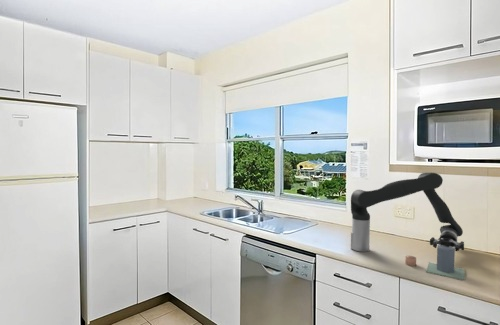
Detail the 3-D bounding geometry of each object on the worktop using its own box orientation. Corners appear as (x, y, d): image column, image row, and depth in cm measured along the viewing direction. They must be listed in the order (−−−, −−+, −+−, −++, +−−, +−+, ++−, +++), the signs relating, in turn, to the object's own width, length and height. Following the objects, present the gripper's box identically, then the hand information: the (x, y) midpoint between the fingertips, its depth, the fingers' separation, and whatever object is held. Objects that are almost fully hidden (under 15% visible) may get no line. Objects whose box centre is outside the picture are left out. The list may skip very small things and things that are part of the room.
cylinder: (404, 264, 140) (404, 257, 140) (406, 261, 144) (406, 254, 144) (415, 266, 138) (415, 259, 137) (416, 263, 141) (416, 256, 141)
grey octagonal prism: (436, 270, 132) (437, 248, 132) (437, 266, 137) (438, 245, 137) (453, 274, 128) (454, 251, 128) (454, 269, 133) (454, 247, 133)
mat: (426, 272, 131) (426, 270, 131) (428, 263, 142) (428, 262, 142) (464, 280, 123) (464, 279, 123) (464, 270, 134) (464, 269, 133)
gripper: (432, 229, 158) (428, 237, 146) (465, 233, 149) (463, 242, 137) (432, 243, 159) (428, 252, 146) (465, 248, 150) (463, 258, 137)
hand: (445, 247), depth 141 cm, fingers open, 8 cm apart
